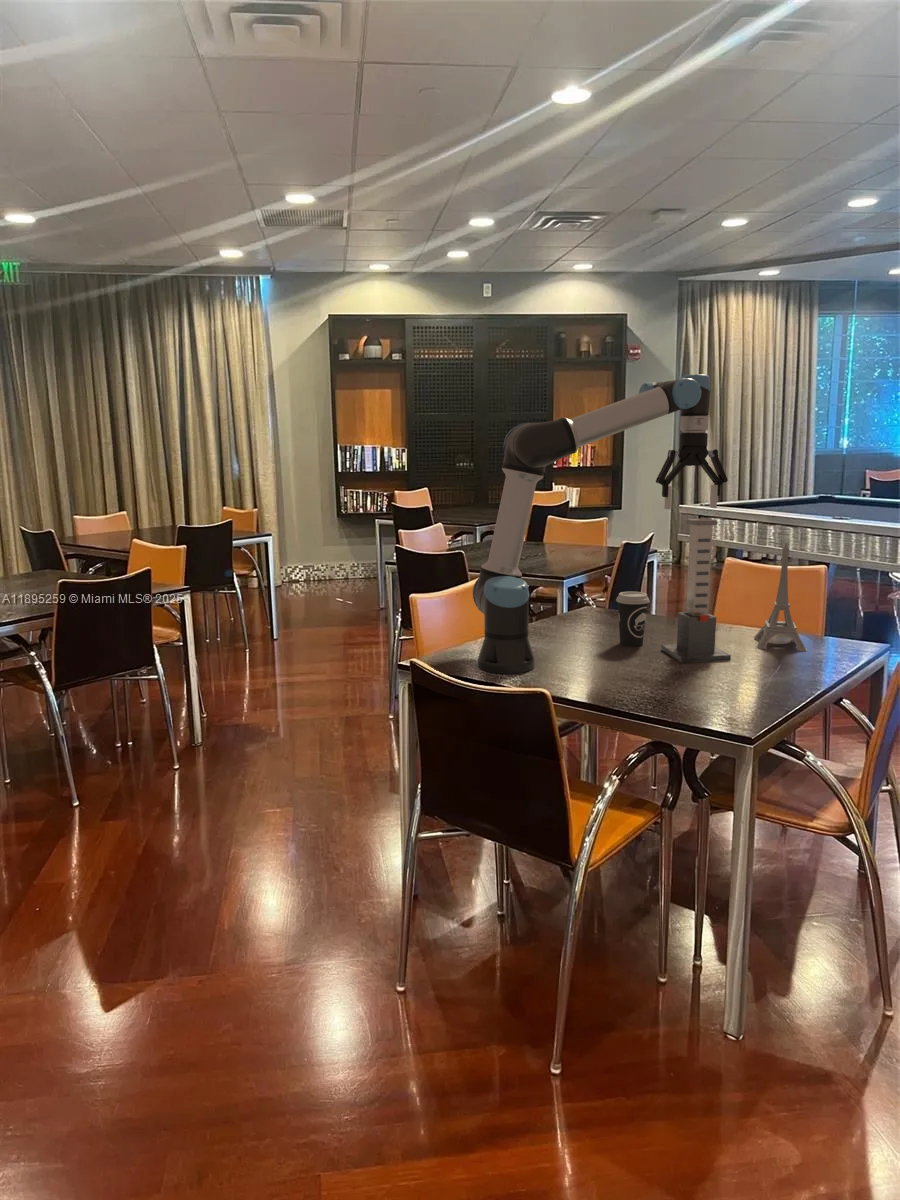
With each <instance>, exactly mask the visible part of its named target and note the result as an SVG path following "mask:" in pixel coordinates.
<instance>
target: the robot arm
mask: <svg viewBox="0 0 900 1200" xmlns="http://www.w3.org/2000/svg"><path fill="white" fill-rule="evenodd" d="M710 397H711V378H710V375H708V374H701V373H700V374H699V373H697V374H684V375H683V376H682V378H679V379H674V380H667V381H657V382H655V381H650V382H644V383H642V384H641V385H640V388H639V390H638V394H635V395H631V396H629V397H626V398H623V399H621V400H619V401H616V402H613V403H610V404H608V405H605V406H602V407H599V408H597V409H594V410H590V411H588V412H585V413H582V414H580V415H578V416H575V417H572V418H567V417H565V416H563V417H560V418H558V419H554V420H551V421H545V422H523V423H520V424H517V425H516V426H514V427H513V428H511V429H510V430H509V432H508V433H507V434H506V435H505V438H504V441H503V453H504V458H503V461H502V467H501V470H502V472H503V473H504V474H505V475H504V476H505V479H504V484H503V489H502V493H501V497H500V498H501V499H500V503H499V507H498V508H499V509H498V513H497V516H496V517H497V518H496V521H495V527H494V531H493V535H492V541H491V545H490V551H489V554H488V558H487V559H488V560H487V561H486V562H485V563H483V564H482V565H480V571H479V575H478V578H477V579H476V581H475V583H474V584H473V587H472V599H473V601H474V604H475V606H476V608H477V609H478V611H480V613H482V614H483V615H484V617H483V618H484V637H483V642H482V645H481V647H480V648H481V649H480V652H479V653H478V656H477V657H478V658H477V667H478V668H479V669H480V670H482V671H485V672H488V673H494V674H506V675H509V674H511V675H512V674H520V673H521V674H523V673H526V672H529V671H532V670H533V669H535V665H536V664H535V663H536V661H535V658H536V657H535V656H534V653H533V648H532V646H531V644H530V640H529V609H530V608H529V607H530V606H529V601H530V599H529V598H530V591H529V585H528V582H526V580H524V579H522V576H523V574H522V572H521V570H520V569H519V564H520V559H521V555H522V551H523V546H524V541H525V538H526V537H525V536H526V533H527V532H526V531H527V529H528V522H529V519H530V514H531V509H532V505H533V501H534V496H535V493H536V492H535V491H536V486H537V483H538V482H539V481H541V480H542V479H544V476H545V471H546V467H547V466H549V465H551V464H553V463H555V462H557V461H560V460H562V459H564V458H565V457H568V456H571V455H574V454H576V453H577V452H578V449H579V448H581V447H583V446H587V445H588V444H591V443H595V442H598V441H599V440H602V439H605V438H607V437H610V436H613V435H616V434H617V433H621V432H624V431H626V430H628V429H631V428H635V427H637V426H639V425H642V424H645V423H648V422H650V421H653V420H656V419H659V418H661V417H664V416H666V415H669V414H670V415H671V414H673V413H676V412H677V411H680V423H679V431H681V432H680V434H679V444H678V445H679V449H678V450H676V449H668V451H667V456H666V457H667V458H666V459H665V461H664V464H663V465H662V467H661V469H660V472H659V473H658V475H657V477H656V479H655V483H656V484H659V485H661V497H663V498H664V510H672V489H673V488H672V487H673V486H672V485H670V484H671V483H672V482H673V480H674V479H675V478H676V477H677V476H678V475H679V473H680V472H681V471H682V469H683V468H685V467H692V466H694V467H697V466H699V467H701V469H702V470H703V471H704V472H705V474H706V475H707V476H708V477H709V479H710V480H711V481H712V484H710V493H709V494H710V499H709V508H711V509H717V506H718V505H717V504H718V497H720V495H721V485H723V484H724V483H727V482H728V477H727V474H726V472H725V470H724V467H723V465H722V463H721V461H720V458H719V450H718V449H717V448H712V449H709V450H708V444H709V443H708V442H709V441H708V437H709V433H708V432H706V431H708V430H709V420H710V418H709V417H710V416H709V415H710V414H709V413H710ZM677 457H679V459H678V461H677V463H676V465H674V467H673V468H672V469H671V467H672V466H673V463H674V462H675V459H676V458H677ZM707 457H709V458H710V460H711V462H712V465H713V467H714V468H712V467H711V465H710V464H709V462H708V461H707V459H706V458H707ZM670 469H671V471H670ZM713 469H714V470H713ZM669 471H670V472H669Z"/></svg>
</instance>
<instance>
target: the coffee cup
mask: <svg viewBox="0 0 900 1200" xmlns="http://www.w3.org/2000/svg"><path fill="white" fill-rule="evenodd" d="M615 602H617V611H618V612H617V613H618V627H619V629H618V630H619V631H618V632H619V644H620V645H621V646H623V647H632V648H636V647H641V646H643V644H644V636H645V630H646V628H645V627H646V621H647V614H648V613H647V611H648V606H649V603H650V598H649V597H648V594H647V593H645V592H642V591H621V592H619V593H618V596H617V597H616V599H615Z"/></svg>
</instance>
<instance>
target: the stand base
mask: <svg viewBox="0 0 900 1200" xmlns="http://www.w3.org/2000/svg"><path fill="white" fill-rule="evenodd" d="M677 614H678V616H677V630H676V631H677V635H676V643H673V644H670V643H669V644H661V648H660V650H661V651H662V652H664V653H665V654H666V655H669V656H670V657H671V658H673V659H675V660H676V661H678V662H679V663H681V664H688V663H708V662H728V661H729V662H730V661H731V659H732V655H731V654H730V653H728V652H726V651H724V650H723V649H720V648H718V647H717V646H716V631H717V630H716V627H717V617H716V616H714V615H713V614H710V613H709V612H708V615H699V617H693V618H691V617H689V616H687V615H686V611H685V612H683V611H682V612H677Z"/></svg>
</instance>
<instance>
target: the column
mask: <svg viewBox="0 0 900 1200" xmlns="http://www.w3.org/2000/svg"><path fill="white" fill-rule="evenodd" d="M685 519H686V521H685V523H686V524H688V525H689V540H688V541H689V543H688V544H689V545H688V565H687V567H688V568H687V588H686V589H687V591H686V608H685V609H686V610H685V612H686V615H687V616H689V617H691V618H693V617H699V615H708V613H709V607H710V606H709V605H710V589H711V587H710V586H711V567H712V547H713V530H714V529H713V528H714V526H717V525H718V520H716V519H712V518H709V517H708V518H705V517H704V518H685Z"/></svg>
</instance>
